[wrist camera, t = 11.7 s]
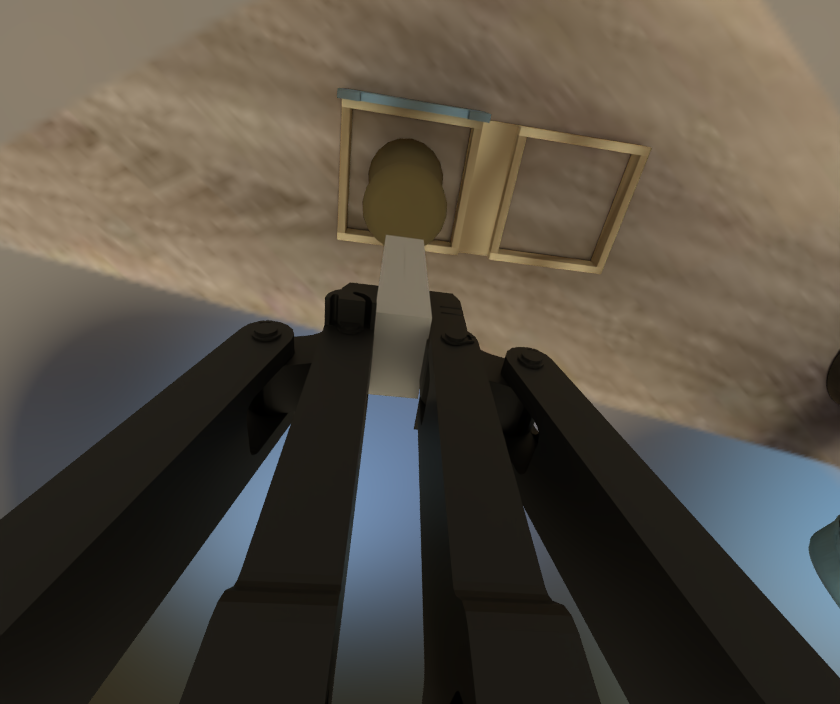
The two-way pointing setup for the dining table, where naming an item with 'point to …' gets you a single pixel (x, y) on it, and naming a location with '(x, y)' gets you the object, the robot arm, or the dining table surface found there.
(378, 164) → the cork
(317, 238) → the dining table surface
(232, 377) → the robot arm
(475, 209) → the caddy
